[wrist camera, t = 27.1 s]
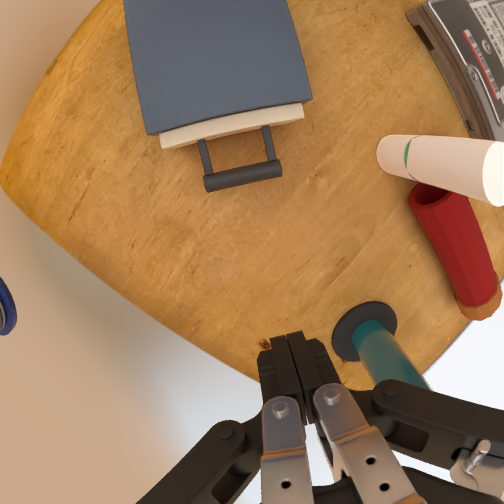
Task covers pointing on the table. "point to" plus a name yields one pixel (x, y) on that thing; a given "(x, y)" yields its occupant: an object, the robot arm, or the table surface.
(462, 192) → the tube
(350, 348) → the coaster
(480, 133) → the hard drive
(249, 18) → the cabinet
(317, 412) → the robot arm
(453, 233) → the shell casing
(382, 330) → the canister
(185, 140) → the drawer
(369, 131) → the table surface
